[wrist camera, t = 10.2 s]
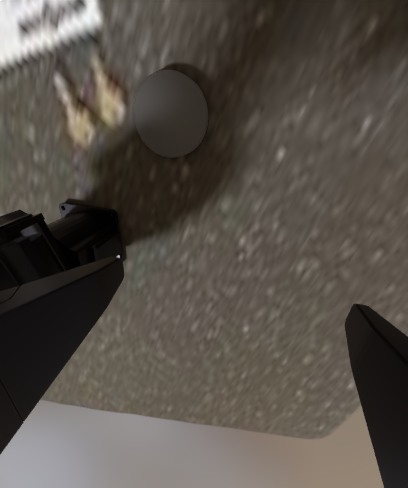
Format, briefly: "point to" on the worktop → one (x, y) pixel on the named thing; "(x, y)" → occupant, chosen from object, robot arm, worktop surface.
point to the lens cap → (170, 113)
